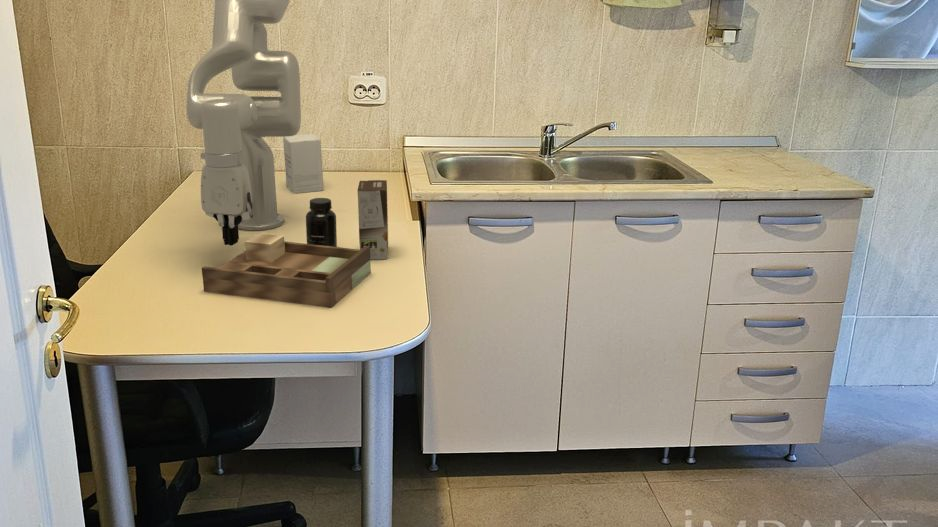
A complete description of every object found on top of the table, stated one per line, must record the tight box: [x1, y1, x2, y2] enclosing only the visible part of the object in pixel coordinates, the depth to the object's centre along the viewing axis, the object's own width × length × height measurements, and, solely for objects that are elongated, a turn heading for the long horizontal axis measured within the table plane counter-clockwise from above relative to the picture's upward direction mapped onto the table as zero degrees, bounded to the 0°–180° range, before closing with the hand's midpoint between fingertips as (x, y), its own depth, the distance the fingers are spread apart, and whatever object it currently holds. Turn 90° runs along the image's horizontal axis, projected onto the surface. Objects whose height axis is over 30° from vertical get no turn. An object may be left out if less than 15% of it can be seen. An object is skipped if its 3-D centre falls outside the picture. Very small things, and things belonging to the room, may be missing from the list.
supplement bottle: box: [305, 197, 338, 247], centre depth 197 cm, size 7×7×12 cm
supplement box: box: [282, 133, 325, 195], centre depth 247 cm, size 9×9×15 cm
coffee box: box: [357, 179, 389, 260], centre depth 195 cm, size 9×6×16 cm
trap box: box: [201, 240, 372, 308], centre depth 179 cm, size 28×20×6 cm
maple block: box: [244, 232, 286, 262], centre depth 185 cm, size 6×6×4 cm
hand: (231, 243), depth 187 cm, fingers closed
